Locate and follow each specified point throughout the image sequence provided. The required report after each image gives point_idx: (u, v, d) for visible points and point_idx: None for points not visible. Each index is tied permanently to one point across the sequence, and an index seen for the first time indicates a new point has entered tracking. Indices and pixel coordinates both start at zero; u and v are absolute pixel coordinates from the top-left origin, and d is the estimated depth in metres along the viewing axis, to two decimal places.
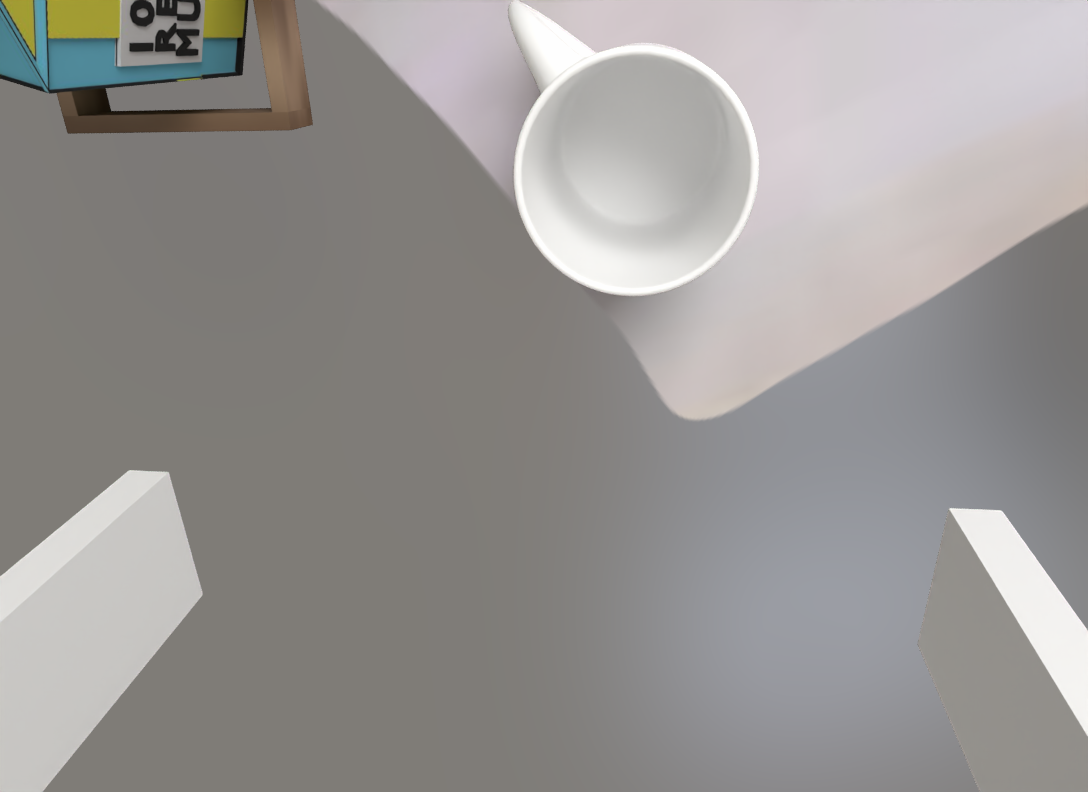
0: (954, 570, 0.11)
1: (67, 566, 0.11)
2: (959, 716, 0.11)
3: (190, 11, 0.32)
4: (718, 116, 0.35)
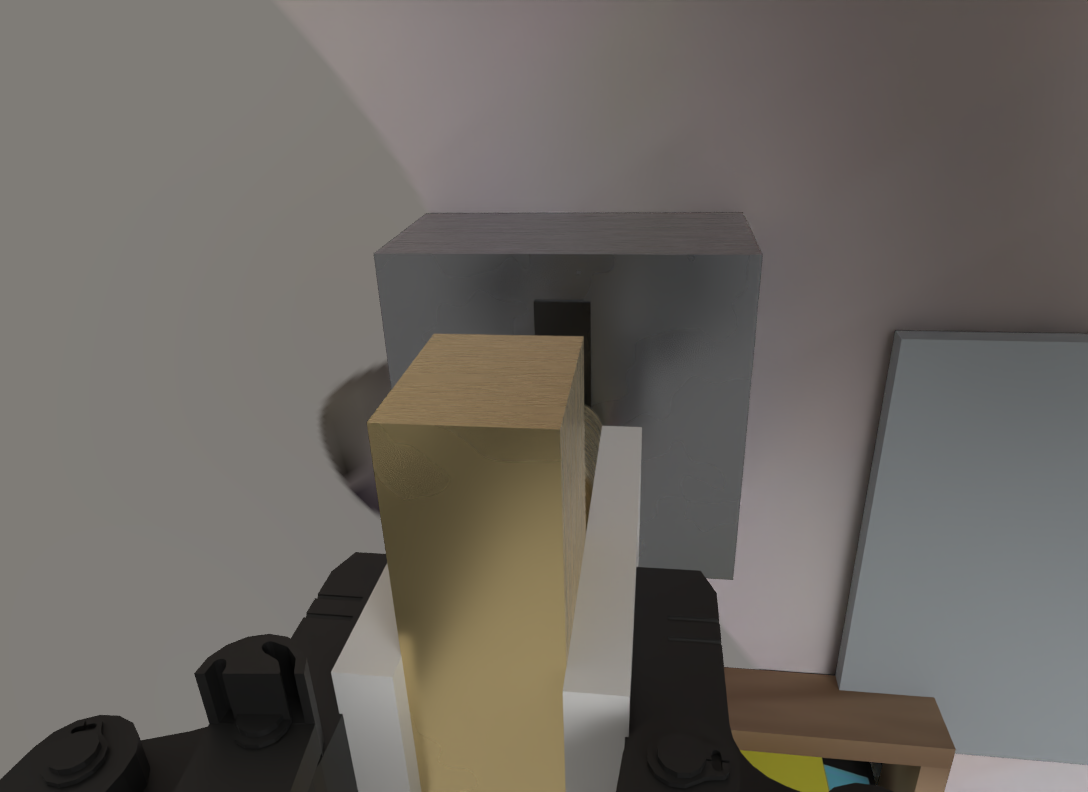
0: None
1: None
2: None
3: None
4: None
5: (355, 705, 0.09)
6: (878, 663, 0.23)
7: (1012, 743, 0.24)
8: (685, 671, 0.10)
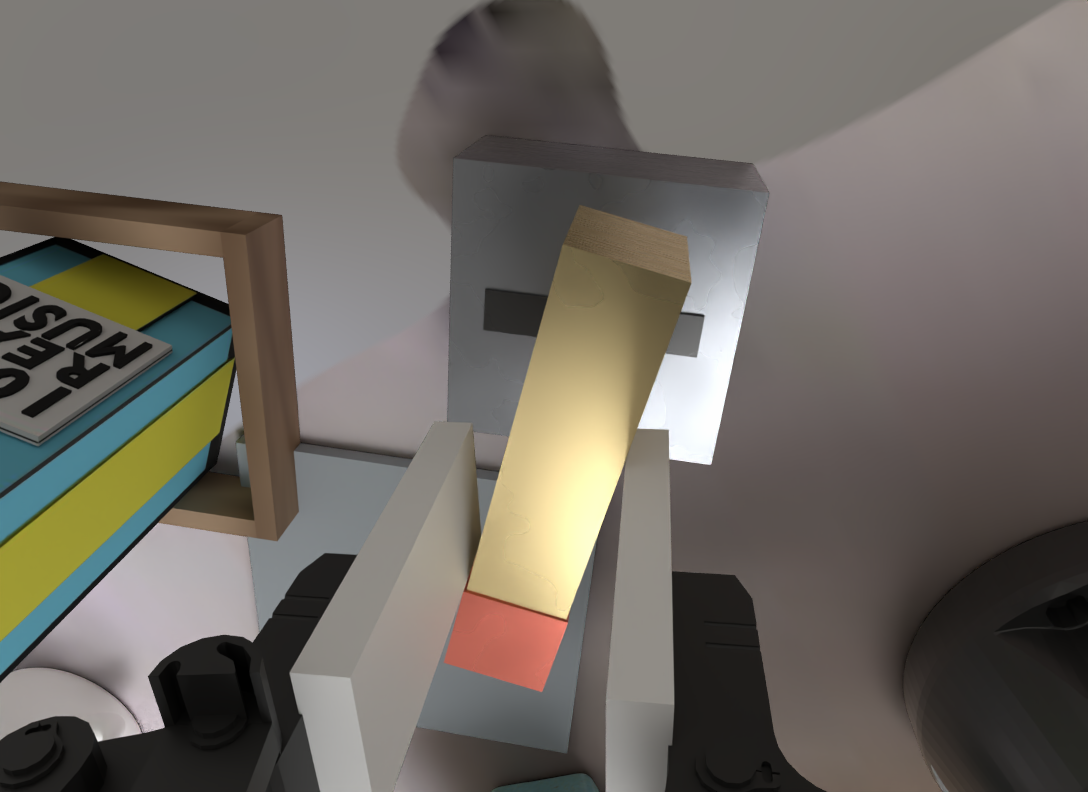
0: None
1: (436, 498, 0.12)
2: None
3: None
4: None
5: (314, 706, 0.09)
6: (325, 477, 0.29)
7: (264, 556, 0.31)
8: (726, 679, 0.10)
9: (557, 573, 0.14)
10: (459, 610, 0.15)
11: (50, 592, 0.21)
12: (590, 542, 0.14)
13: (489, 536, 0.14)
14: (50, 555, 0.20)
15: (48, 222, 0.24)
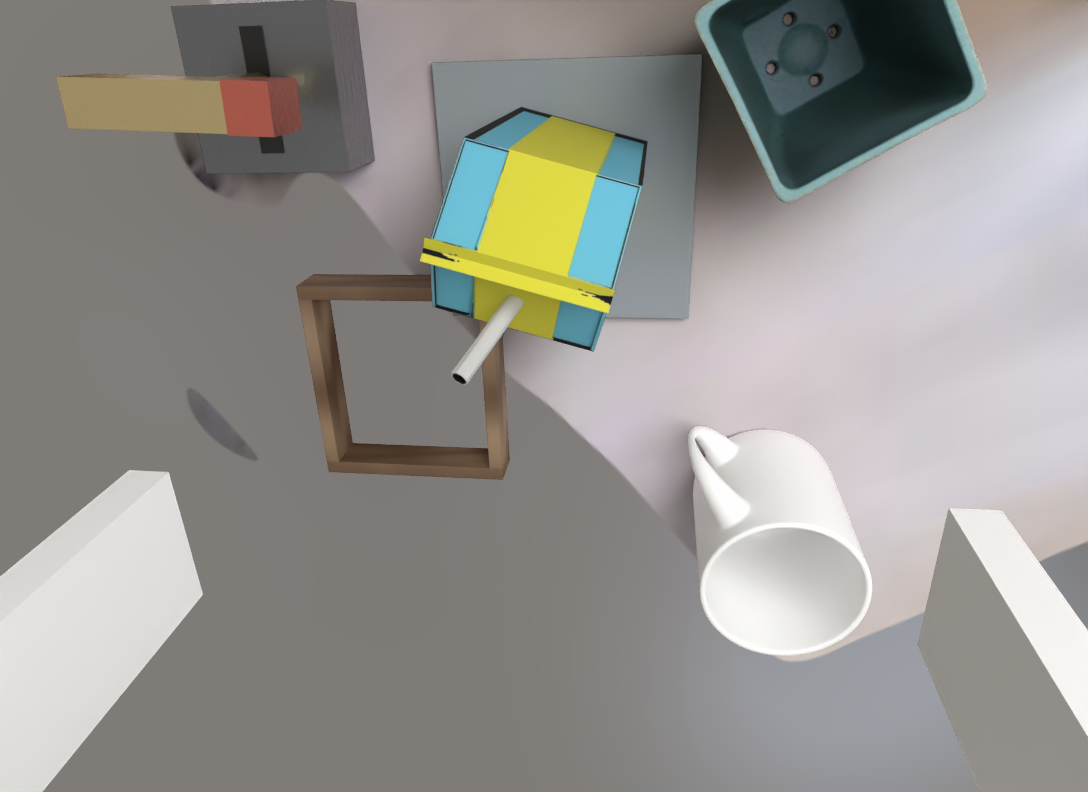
0: (954, 570, 0.11)
1: (67, 566, 0.11)
2: (959, 716, 0.11)
3: None
4: None
5: None
6: None
7: None
8: None
9: (197, 92, 0.31)
10: (239, 135, 0.31)
11: (603, 159, 0.32)
12: (175, 81, 0.31)
13: (194, 129, 0.31)
14: (567, 149, 0.32)
15: (319, 386, 0.47)
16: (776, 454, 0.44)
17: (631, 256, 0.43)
